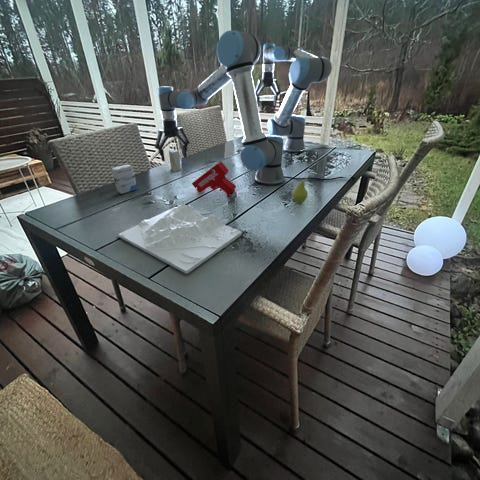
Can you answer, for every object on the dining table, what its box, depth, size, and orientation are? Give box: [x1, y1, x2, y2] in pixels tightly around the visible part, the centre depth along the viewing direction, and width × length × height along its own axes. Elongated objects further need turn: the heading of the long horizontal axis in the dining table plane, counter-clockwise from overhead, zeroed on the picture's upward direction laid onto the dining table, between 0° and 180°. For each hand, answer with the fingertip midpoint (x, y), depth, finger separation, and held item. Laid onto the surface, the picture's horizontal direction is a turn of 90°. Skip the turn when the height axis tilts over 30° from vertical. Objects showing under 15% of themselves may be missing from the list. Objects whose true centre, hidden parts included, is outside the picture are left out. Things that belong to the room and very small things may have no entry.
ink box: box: [110, 164, 138, 195], centre depth 131 cm, size 8×5×12 cm, turn 135°
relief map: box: [117, 202, 243, 275], centre depth 96 cm, size 27×35×5 cm
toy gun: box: [191, 161, 237, 197], centre depth 128 cm, size 18×4×15 cm
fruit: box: [291, 174, 311, 204], centre depth 118 cm, size 7×8×12 cm
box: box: [168, 149, 182, 172], centre depth 158 cm, size 5×4×11 cm
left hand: (174, 158), depth 157 cm, fingers open, 13 cm apart
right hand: (266, 106), depth 196 cm, fingers open, 13 cm apart
